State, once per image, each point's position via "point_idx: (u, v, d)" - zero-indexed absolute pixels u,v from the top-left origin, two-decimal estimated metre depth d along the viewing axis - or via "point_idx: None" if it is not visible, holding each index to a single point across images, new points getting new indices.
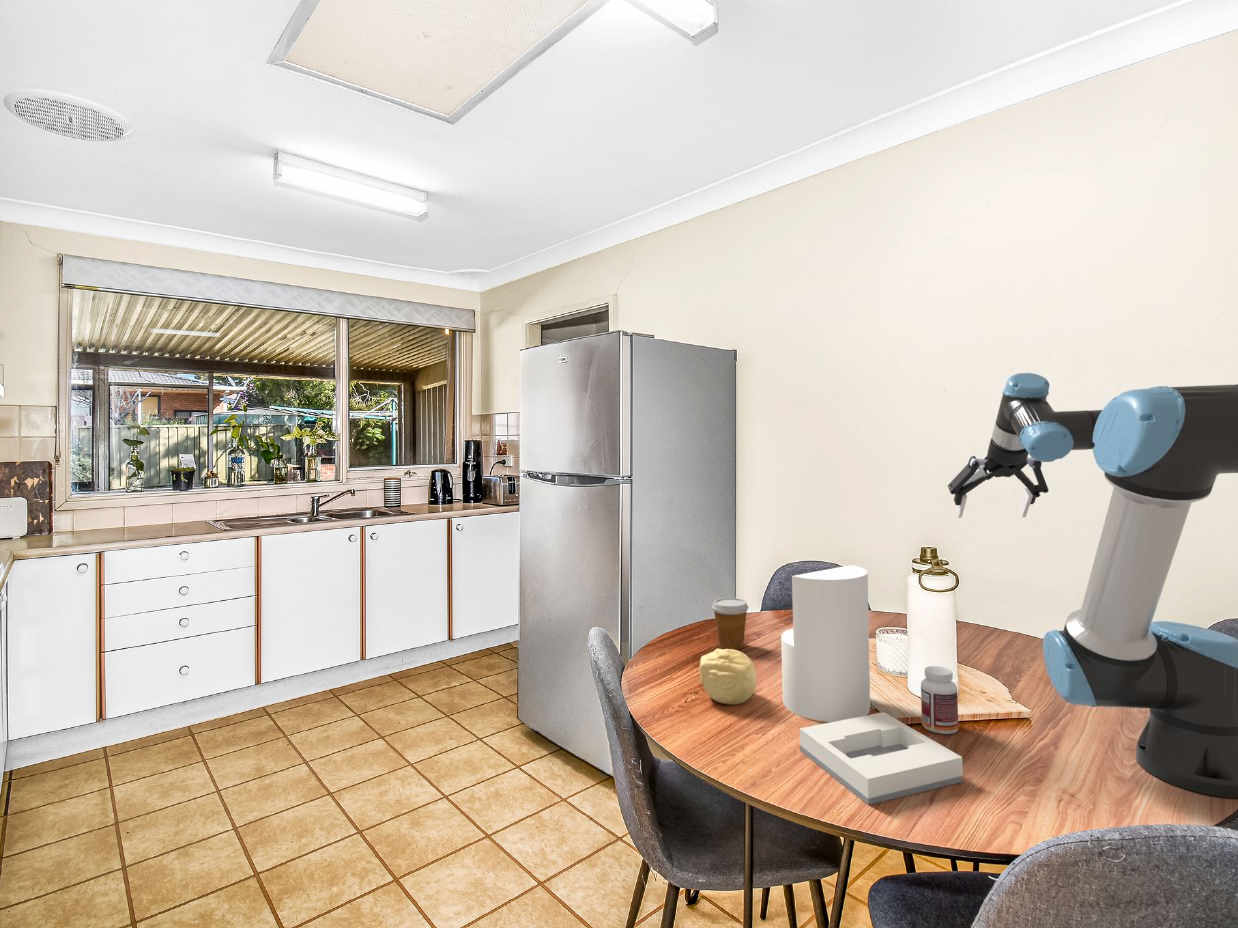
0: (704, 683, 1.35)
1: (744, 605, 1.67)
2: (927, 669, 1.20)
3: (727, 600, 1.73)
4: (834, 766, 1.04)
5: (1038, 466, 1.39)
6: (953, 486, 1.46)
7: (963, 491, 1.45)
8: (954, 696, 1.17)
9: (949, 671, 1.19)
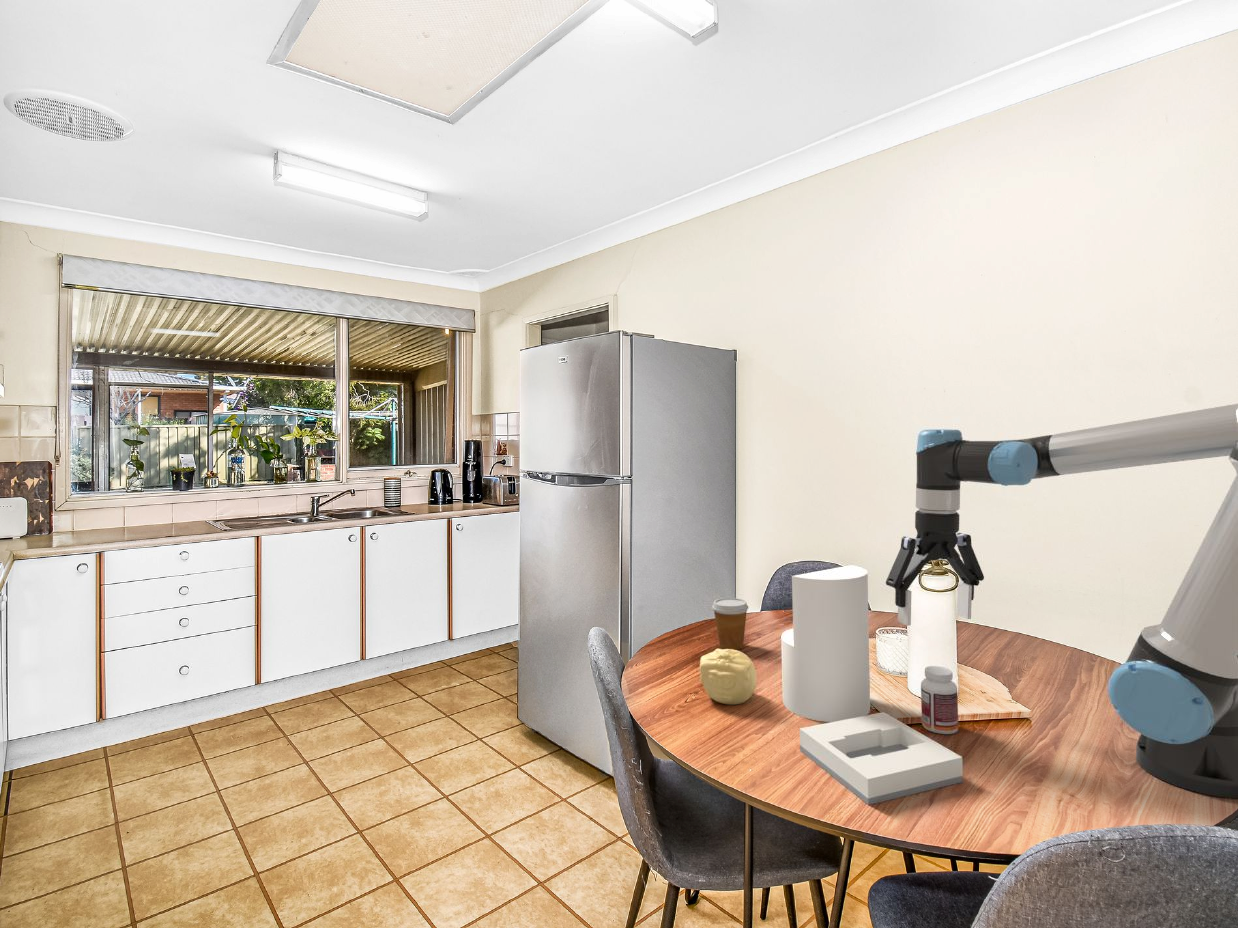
0: (704, 683, 1.35)
1: (744, 605, 1.67)
2: (927, 669, 1.20)
3: (727, 600, 1.73)
4: (834, 766, 1.04)
5: (969, 542, 1.22)
6: (894, 577, 1.19)
7: (906, 583, 1.19)
8: (954, 696, 1.17)
9: (949, 671, 1.19)
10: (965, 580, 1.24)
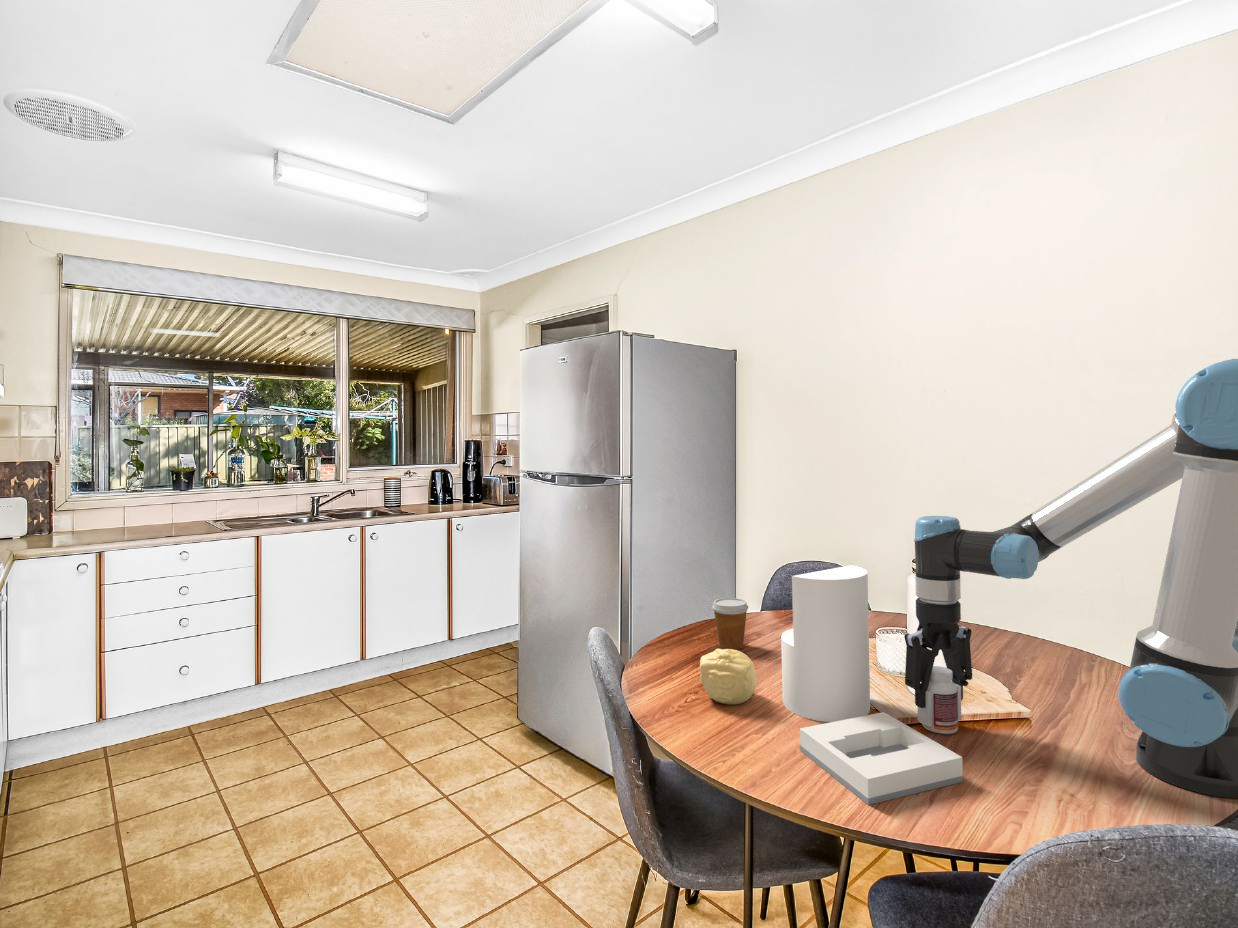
0: (704, 683, 1.35)
1: (744, 605, 1.67)
2: None
3: (727, 600, 1.73)
4: (834, 766, 1.04)
5: (968, 636, 1.20)
6: (912, 679, 1.17)
7: (924, 683, 1.17)
8: (954, 695, 1.17)
9: (949, 671, 1.19)
10: (953, 679, 1.21)
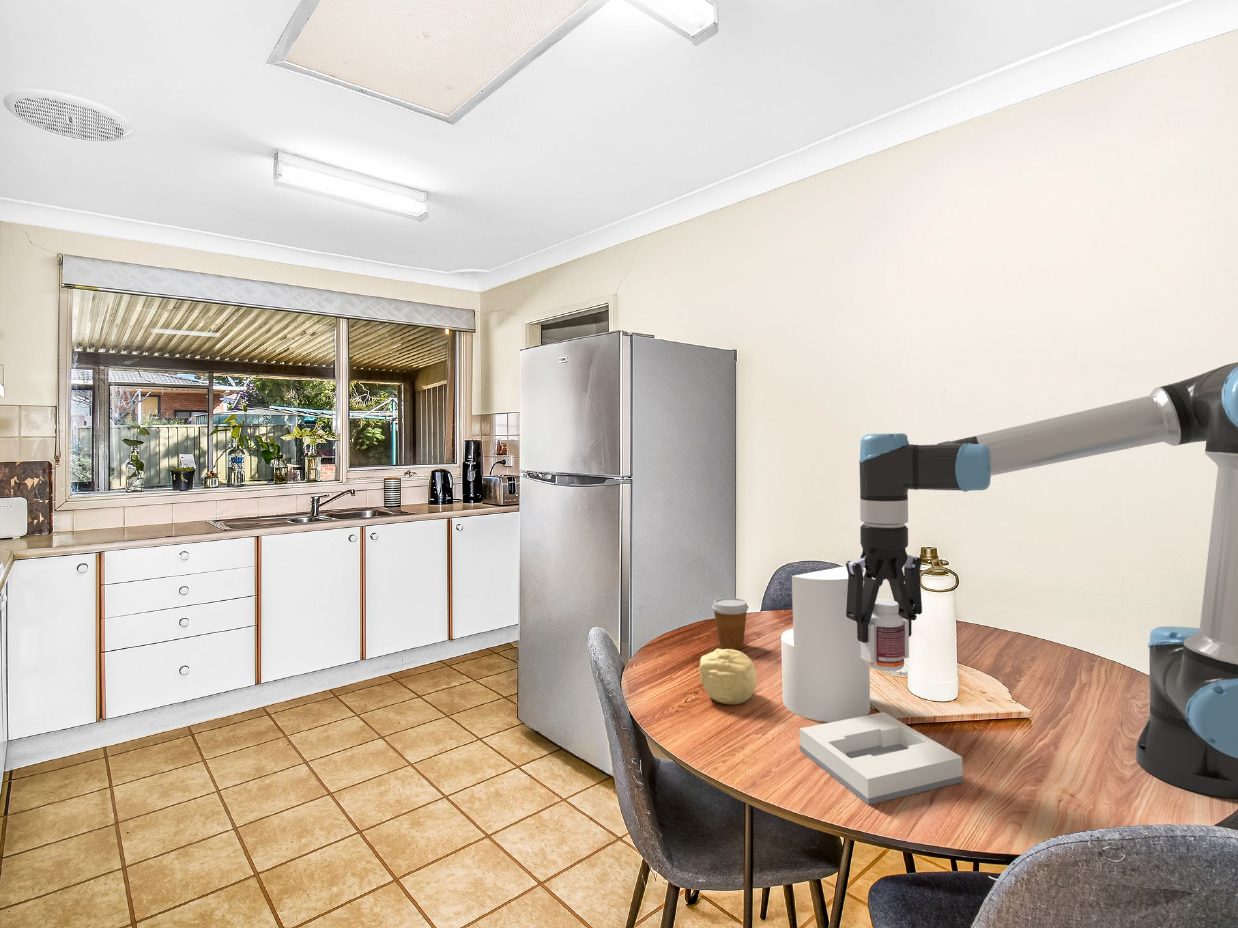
0: (704, 683, 1.35)
1: (744, 605, 1.67)
2: None
3: (727, 600, 1.73)
4: (834, 766, 1.04)
5: (918, 566, 1.09)
6: (853, 610, 1.07)
7: (866, 615, 1.07)
8: (899, 629, 1.06)
9: (895, 603, 1.08)
10: (901, 614, 1.10)
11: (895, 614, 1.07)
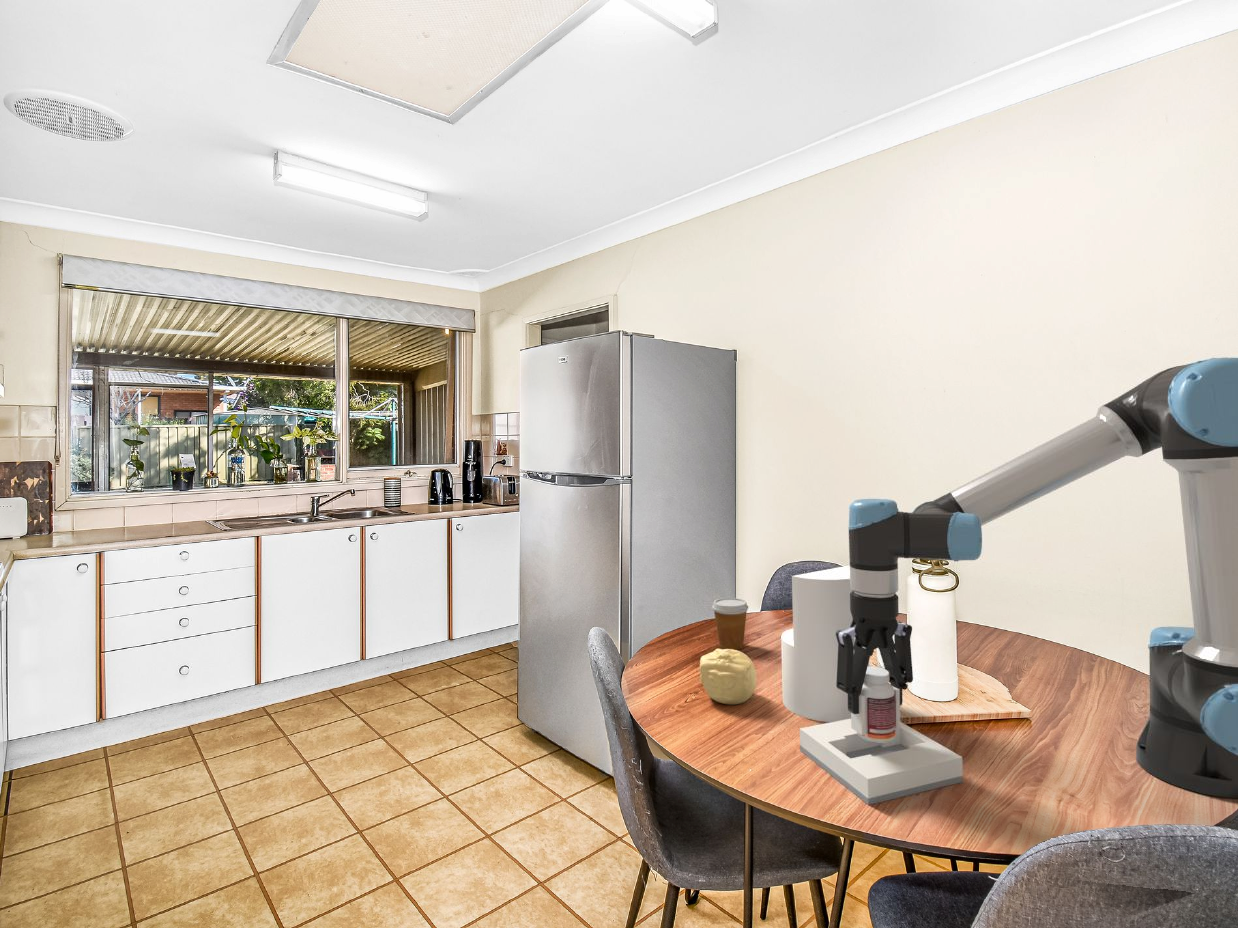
0: (704, 683, 1.35)
1: (744, 605, 1.67)
2: None
3: (727, 600, 1.73)
4: (834, 766, 1.04)
5: (908, 634, 1.07)
6: (843, 682, 1.04)
7: (857, 686, 1.04)
8: (890, 700, 1.04)
9: (886, 672, 1.06)
10: (892, 682, 1.08)
11: (886, 684, 1.05)
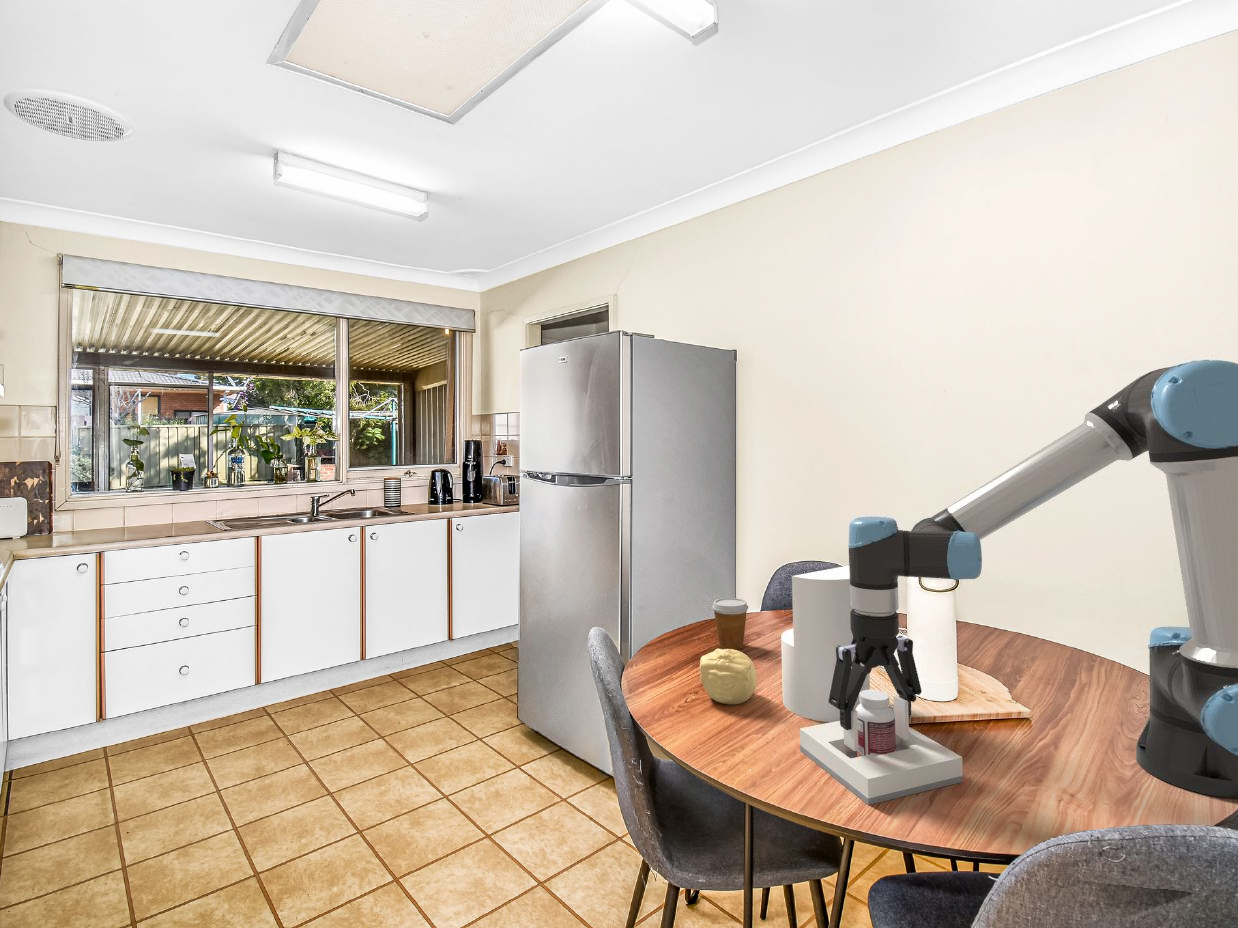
0: (704, 683, 1.35)
1: (744, 605, 1.67)
2: (862, 693, 1.08)
3: (727, 600, 1.73)
4: (834, 766, 1.04)
5: (910, 648, 1.07)
6: (836, 697, 1.04)
7: (850, 702, 1.04)
8: (890, 724, 1.04)
9: (885, 696, 1.06)
10: (901, 694, 1.09)
11: (886, 708, 1.05)
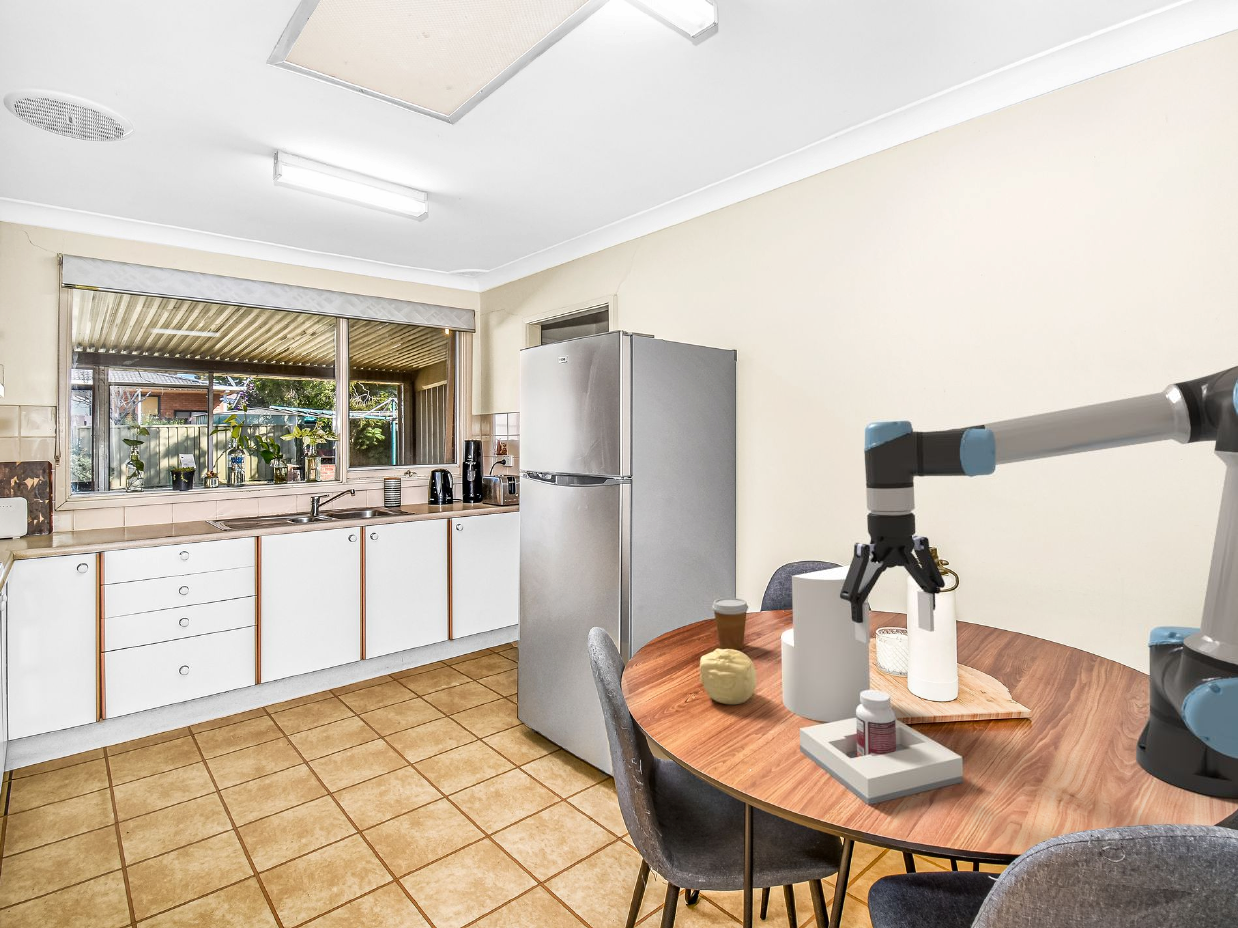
0: (704, 683, 1.35)
1: (744, 605, 1.67)
2: (862, 693, 1.08)
3: (727, 600, 1.73)
4: (834, 766, 1.04)
5: (926, 545, 1.10)
6: (849, 589, 1.05)
7: (862, 595, 1.05)
8: (890, 724, 1.04)
9: (886, 696, 1.06)
10: (925, 588, 1.12)
11: (886, 708, 1.05)
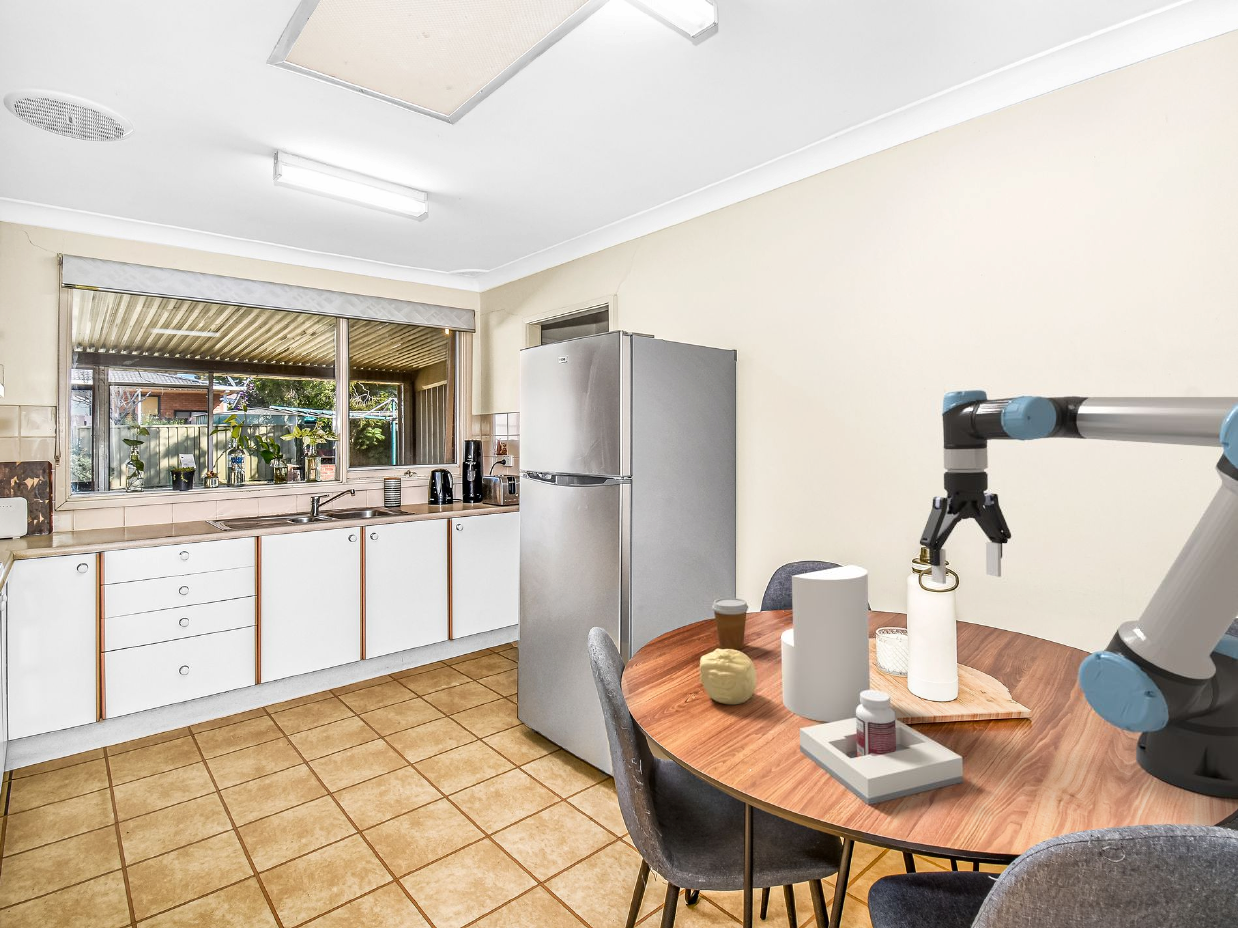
0: (704, 683, 1.35)
1: (744, 605, 1.67)
2: (862, 694, 1.08)
3: (727, 600, 1.73)
4: (834, 766, 1.04)
5: (996, 501, 1.25)
6: (928, 536, 1.21)
7: (940, 541, 1.21)
8: (890, 724, 1.04)
9: (886, 696, 1.06)
10: (993, 539, 1.27)
11: (886, 708, 1.05)
